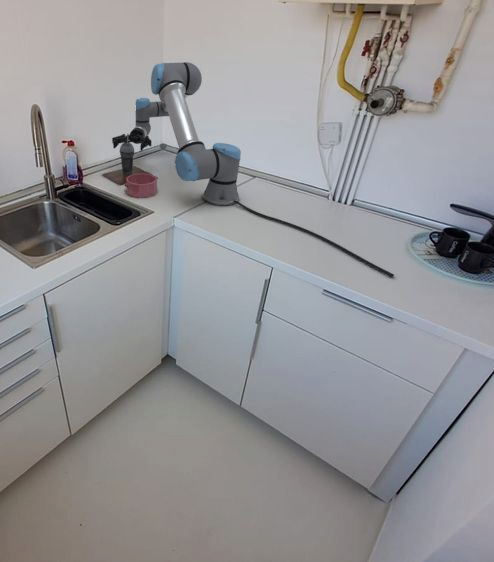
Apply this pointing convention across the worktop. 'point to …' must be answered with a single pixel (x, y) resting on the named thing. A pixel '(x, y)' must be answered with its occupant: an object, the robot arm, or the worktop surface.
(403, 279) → the worktop surface
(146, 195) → the pot
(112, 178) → the board
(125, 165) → the beverage cup
